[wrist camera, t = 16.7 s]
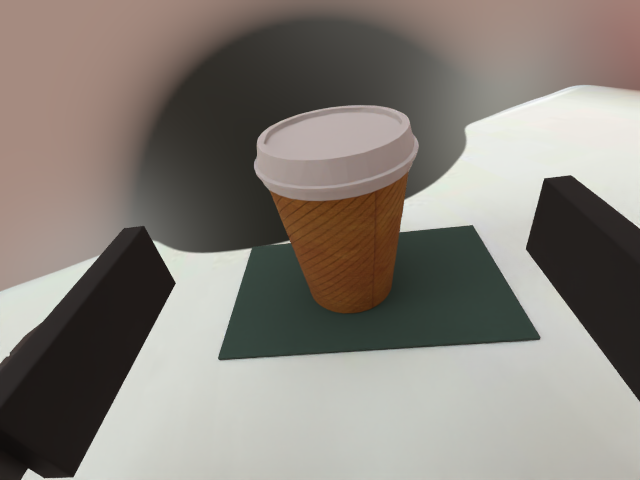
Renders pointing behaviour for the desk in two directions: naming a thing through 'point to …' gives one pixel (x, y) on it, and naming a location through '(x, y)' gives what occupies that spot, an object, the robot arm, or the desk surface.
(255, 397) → the desk surface
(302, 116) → the disposable coffee cup
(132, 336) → the robot arm
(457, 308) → the desk mat
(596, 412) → the desk surface
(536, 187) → the desk surface
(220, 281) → the desk surface
